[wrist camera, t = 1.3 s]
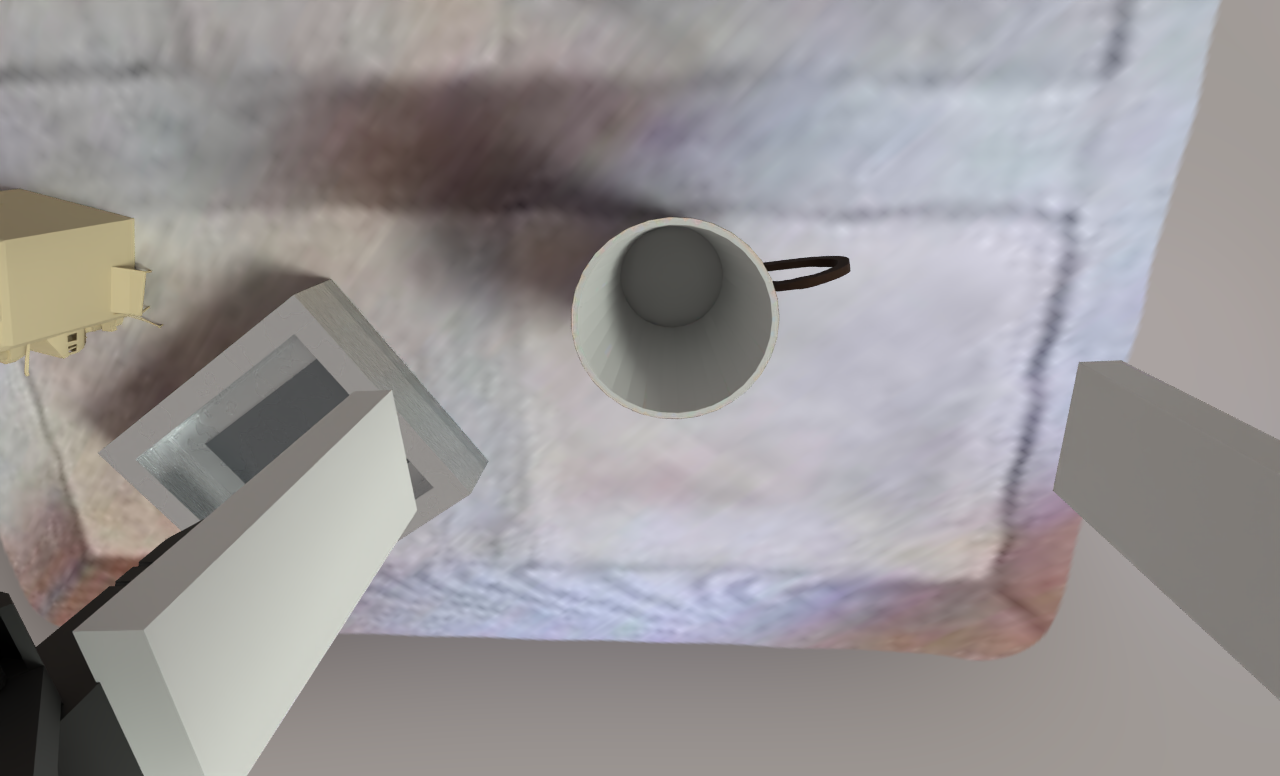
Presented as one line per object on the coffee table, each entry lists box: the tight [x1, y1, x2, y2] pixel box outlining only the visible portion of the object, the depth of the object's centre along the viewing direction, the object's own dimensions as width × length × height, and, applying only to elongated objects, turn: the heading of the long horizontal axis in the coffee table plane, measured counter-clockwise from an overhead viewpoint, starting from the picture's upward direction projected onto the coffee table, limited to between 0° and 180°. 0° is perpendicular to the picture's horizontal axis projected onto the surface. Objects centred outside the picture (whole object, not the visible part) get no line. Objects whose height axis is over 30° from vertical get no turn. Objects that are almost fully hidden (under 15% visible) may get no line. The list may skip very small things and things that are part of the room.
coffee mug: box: [571, 217, 850, 419], centre depth 32 cm, size 12×9×10 cm
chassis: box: [98, 279, 488, 541], centre depth 39 cm, size 14×16×4 cm
